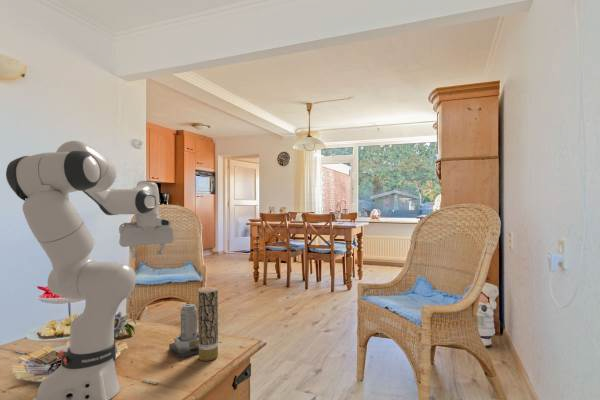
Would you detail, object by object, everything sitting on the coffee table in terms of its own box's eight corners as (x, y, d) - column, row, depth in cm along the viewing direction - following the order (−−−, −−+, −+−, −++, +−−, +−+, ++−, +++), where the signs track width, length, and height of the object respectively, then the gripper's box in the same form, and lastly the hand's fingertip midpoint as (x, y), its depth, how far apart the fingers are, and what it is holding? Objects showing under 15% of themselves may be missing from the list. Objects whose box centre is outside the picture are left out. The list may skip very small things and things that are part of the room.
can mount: (180, 359, 123) (180, 345, 123) (169, 349, 132) (169, 336, 132) (208, 350, 131) (208, 337, 131) (196, 341, 139) (196, 329, 139)
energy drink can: (197, 346, 130) (197, 306, 130) (180, 348, 128) (180, 308, 128) (196, 340, 135) (196, 302, 135) (180, 342, 133) (180, 303, 134)
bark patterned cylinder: (212, 362, 121) (212, 291, 121) (195, 360, 122) (195, 290, 122) (221, 354, 127) (220, 286, 128) (204, 352, 129) (204, 286, 129)
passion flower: (111, 352, 142) (92, 330, 140) (124, 337, 152) (107, 317, 151) (131, 338, 140) (112, 316, 139) (144, 324, 151) (126, 303, 150)
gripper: (121, 223, 129) (121, 259, 129) (175, 221, 142) (175, 254, 142) (117, 222, 134) (117, 258, 133) (169, 220, 147) (169, 252, 147)
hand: (147, 256), depth 138 cm, fingers open, 8 cm apart
